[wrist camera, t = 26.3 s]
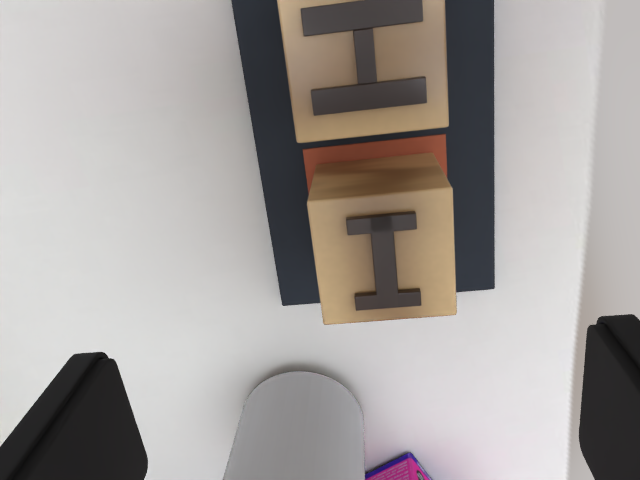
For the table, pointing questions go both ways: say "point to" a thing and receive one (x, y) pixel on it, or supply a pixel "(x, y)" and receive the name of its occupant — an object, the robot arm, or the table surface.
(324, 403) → the beverage can
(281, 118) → the mat
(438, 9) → the letter h cube
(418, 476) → the supplement box
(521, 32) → the table surface
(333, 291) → the tile
